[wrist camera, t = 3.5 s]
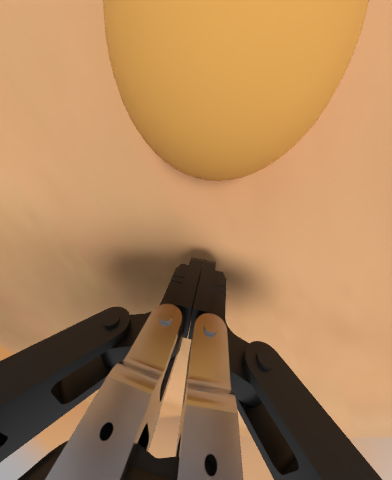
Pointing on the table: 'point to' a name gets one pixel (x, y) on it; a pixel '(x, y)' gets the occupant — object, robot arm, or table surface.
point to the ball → (228, 75)
